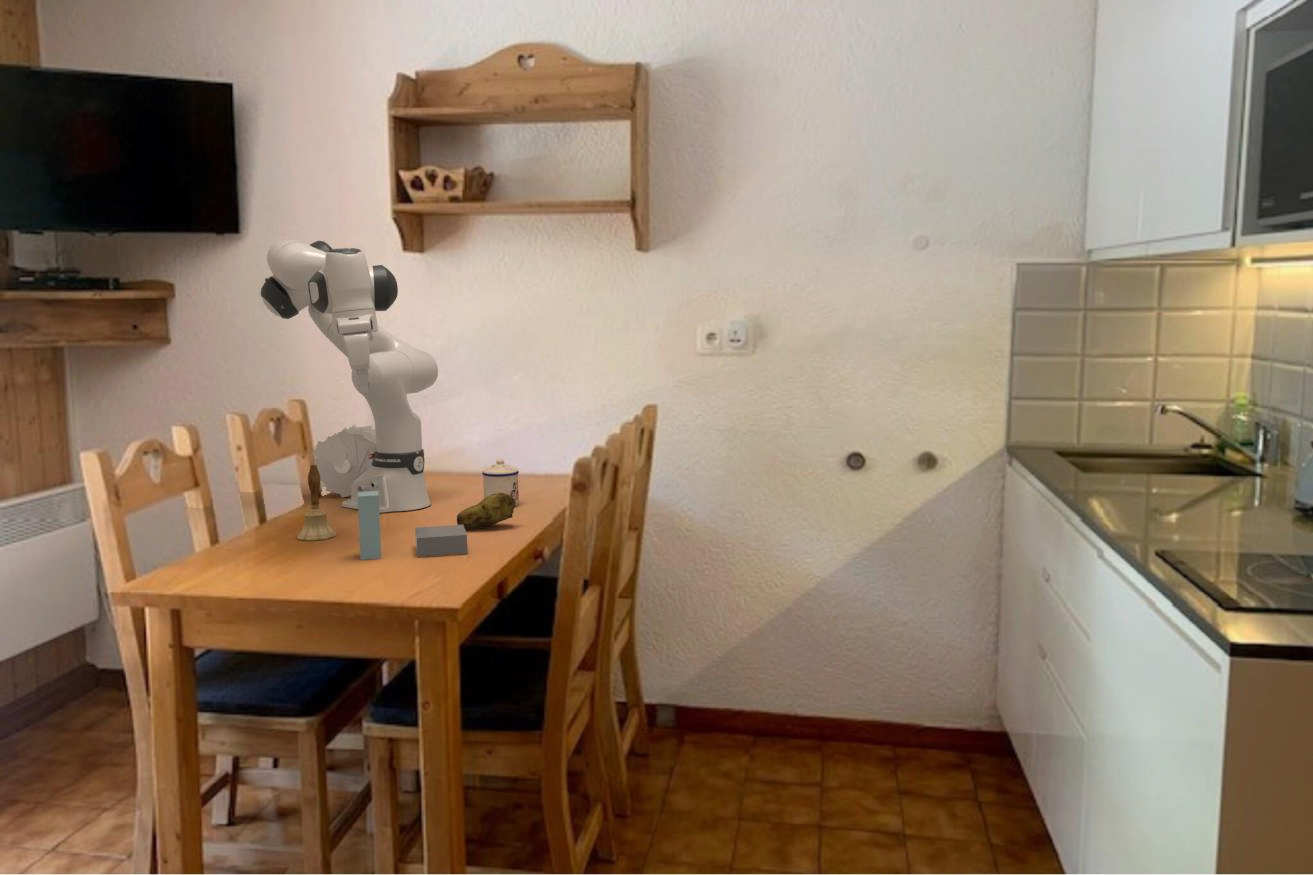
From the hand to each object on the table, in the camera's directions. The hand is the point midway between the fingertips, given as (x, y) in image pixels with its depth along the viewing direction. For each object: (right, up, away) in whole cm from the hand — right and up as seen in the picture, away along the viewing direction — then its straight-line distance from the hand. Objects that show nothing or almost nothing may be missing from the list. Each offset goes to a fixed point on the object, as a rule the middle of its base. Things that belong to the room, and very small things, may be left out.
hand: (365, 391), depth 219 cm
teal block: (+3, -34, -7) cm, 35 cm away
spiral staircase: (-20, -25, +64) cm, 71 cm away
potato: (+23, -31, +18) cm, 42 cm away
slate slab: (+16, -33, -2) cm, 37 cm away
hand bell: (-14, -32, +11) cm, 36 cm away
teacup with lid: (+22, -27, +45) cm, 57 cm away
